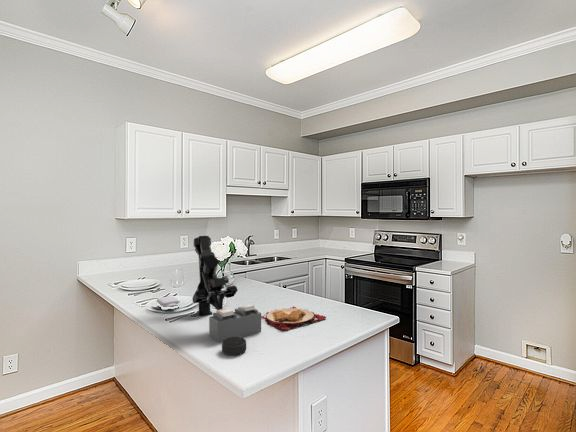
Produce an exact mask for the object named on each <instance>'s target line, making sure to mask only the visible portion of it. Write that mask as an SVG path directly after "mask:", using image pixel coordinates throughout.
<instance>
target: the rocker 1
mask: <svg viewBox="0 0 576 432" xmlns="http://www.w3.org/2000/svg"><path fill="white" fill-rule="evenodd" d="M215 311H216V312H215V313H217V314H219V315H220V316H222V317H225V316H230V315H233V312H234V310H232V309H229V308H226V307H225V308H223V309H220V310H217V309H215Z"/></svg>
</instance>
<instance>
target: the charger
mask: <svg viewBox="0 0 576 432" xmlns="http://www.w3.org/2000/svg"><path fill="white" fill-rule="evenodd" d="M157 302H158V303H159V304H160V305H161V306H163V307H174V306H178V305H177V304H178V303H181V301H180V299H178V298H176V297H175V296H173V295H170V296H165V297H163V296H162V297H158V298H157V299H156V303H157Z"/></svg>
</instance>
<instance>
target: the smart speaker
mask: <svg viewBox="0 0 576 432" xmlns="http://www.w3.org/2000/svg"><path fill="white" fill-rule="evenodd" d="M221 351H222V353H224V354H225V355H228V356H239V355H242V354H244V353H245V352H246V351H247V340H246V339H245V338H243V337H230V338H227V339H225V340H224V341H221Z"/></svg>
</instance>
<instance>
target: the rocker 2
mask: <svg viewBox="0 0 576 432" xmlns="http://www.w3.org/2000/svg"><path fill="white" fill-rule="evenodd" d="M237 309H239V310H241V311H249V310H254V309H256V307H255V305H242V306H238V307H237Z"/></svg>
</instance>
